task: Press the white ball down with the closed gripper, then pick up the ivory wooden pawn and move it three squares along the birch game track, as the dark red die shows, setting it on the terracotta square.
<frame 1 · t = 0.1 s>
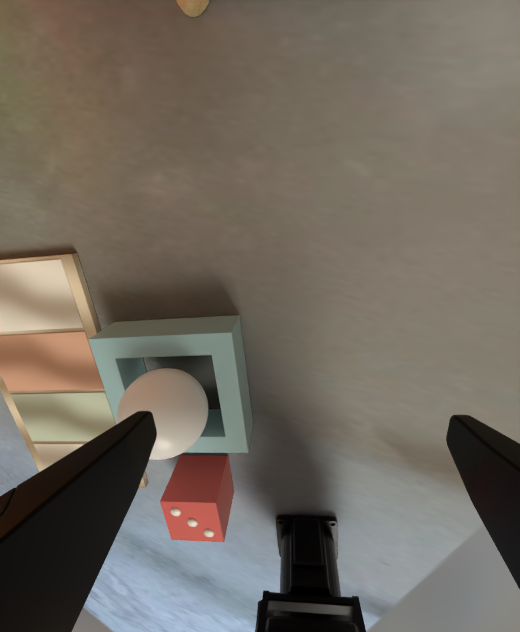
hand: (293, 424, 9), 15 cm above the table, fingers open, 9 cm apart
game board: (61, 387, 28), on the table
white ball: (164, 411, 21), point 5 cm above the table, slide at 0.0 cm
red die: (207, 473, 30), on the table
dome housing: (187, 375, 26), on the table
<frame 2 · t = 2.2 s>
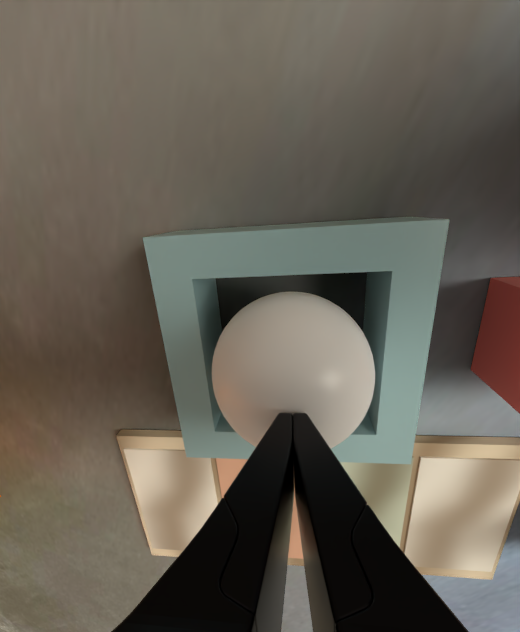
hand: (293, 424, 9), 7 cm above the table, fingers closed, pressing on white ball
game board: (310, 501, 20), on the table
white ball: (290, 369, 12), point 4 cm above the table, slide at 0.9 cm, touching gripper
dome housing: (290, 330, 15), on the table
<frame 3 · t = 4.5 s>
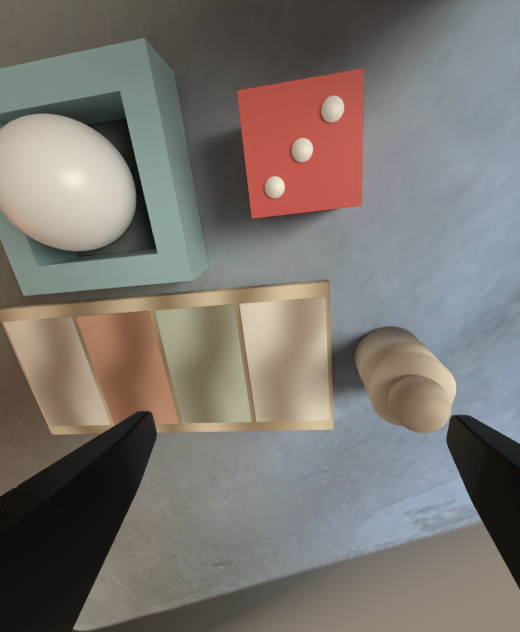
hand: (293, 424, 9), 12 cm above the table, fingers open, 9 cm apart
game board: (170, 366, 23), on the table
pawn: (387, 355, 21), on the table
white ball: (69, 188, 15), point 4 cm above the table, slide at 1.2 cm
red die: (298, 166, 17), on the table
dome housing: (112, 192, 18), on the table
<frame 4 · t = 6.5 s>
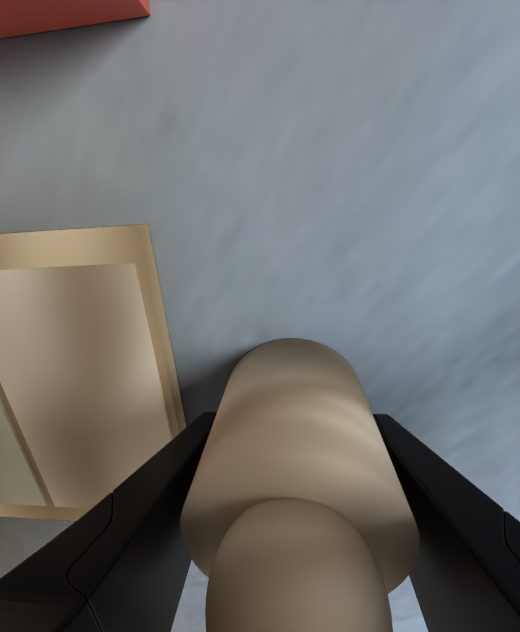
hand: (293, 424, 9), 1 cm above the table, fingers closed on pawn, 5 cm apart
pawn: (292, 398, 10), on the table, touching gripper
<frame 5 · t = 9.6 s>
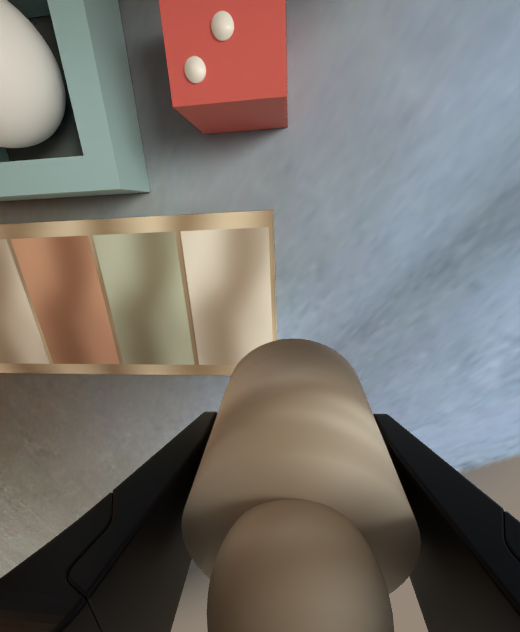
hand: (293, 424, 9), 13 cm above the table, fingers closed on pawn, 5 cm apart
game board: (112, 302, 22), on the table
pawn: (293, 399, 10), point 11 cm above the table, touching gripper
red die: (242, 79, 16), on the table
dome housing: (47, 99, 17), on the table
when the fingers open (3 cm above the table, at t = 12.9 s): pawn drops 1 cm, resting on game board.
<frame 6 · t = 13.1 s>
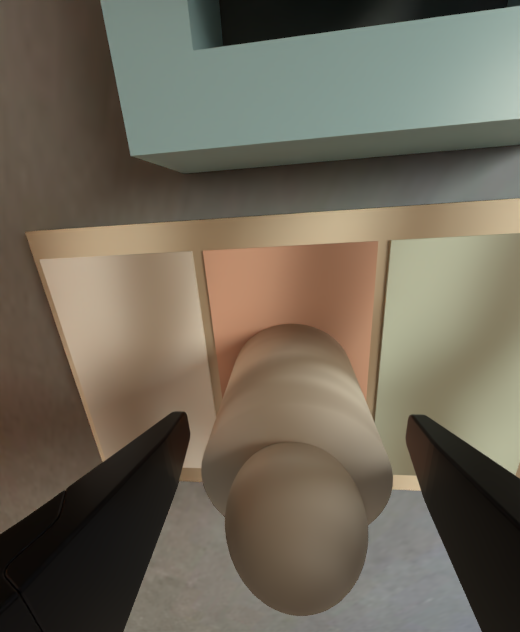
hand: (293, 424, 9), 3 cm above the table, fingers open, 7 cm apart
game board: (368, 366, 12), on the table
pawn: (291, 377, 11), point 1 cm above the table, touching game board
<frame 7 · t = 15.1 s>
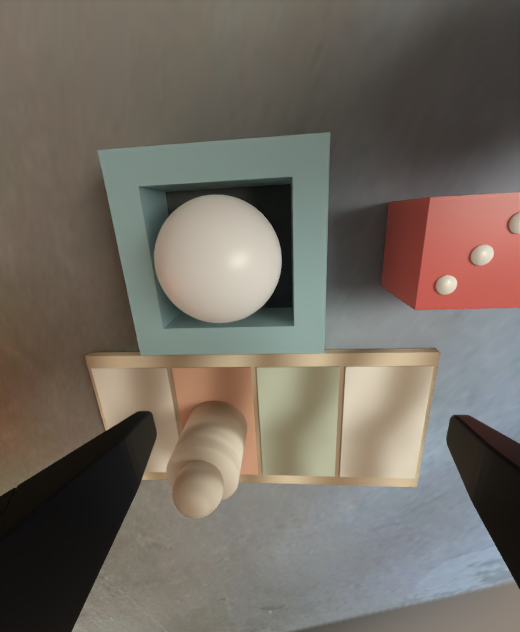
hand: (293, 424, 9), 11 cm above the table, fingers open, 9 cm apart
game board: (258, 419, 23), on the table
pawn: (217, 425, 22), point 1 cm above the table, touching game board
white ball: (219, 261, 15), point 4 cm above the table, slide at 1.2 cm
red die: (427, 244, 17), on the table
dome housing: (232, 252, 18), on the table
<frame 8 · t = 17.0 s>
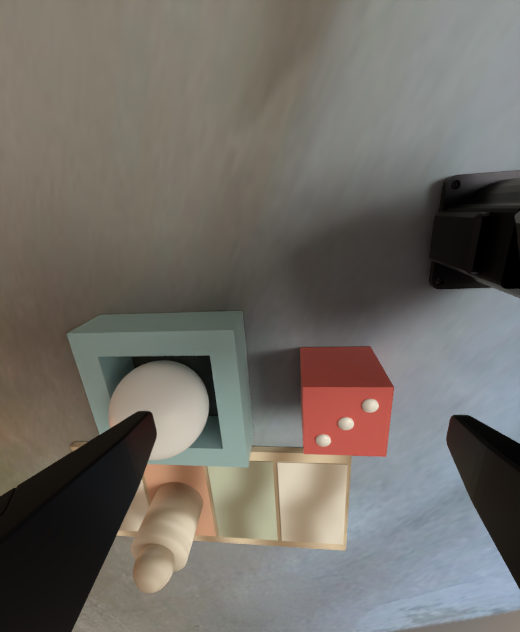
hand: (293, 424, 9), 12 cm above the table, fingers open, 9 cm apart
game board: (213, 493, 27), on the table
pawn: (179, 499, 27), point 1 cm above the table, touching game board
white ball: (161, 407, 19), point 4 cm above the table, slide at 1.2 cm
red die: (333, 376, 22), on the table
dome housing: (181, 376, 23), on the table
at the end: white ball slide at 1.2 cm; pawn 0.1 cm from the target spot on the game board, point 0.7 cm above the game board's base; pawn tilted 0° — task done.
